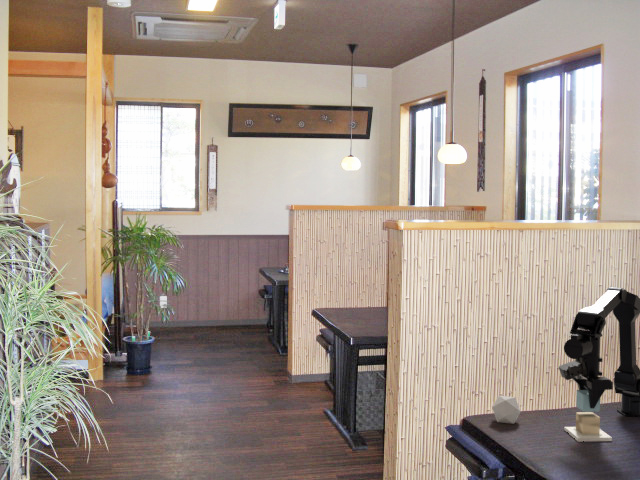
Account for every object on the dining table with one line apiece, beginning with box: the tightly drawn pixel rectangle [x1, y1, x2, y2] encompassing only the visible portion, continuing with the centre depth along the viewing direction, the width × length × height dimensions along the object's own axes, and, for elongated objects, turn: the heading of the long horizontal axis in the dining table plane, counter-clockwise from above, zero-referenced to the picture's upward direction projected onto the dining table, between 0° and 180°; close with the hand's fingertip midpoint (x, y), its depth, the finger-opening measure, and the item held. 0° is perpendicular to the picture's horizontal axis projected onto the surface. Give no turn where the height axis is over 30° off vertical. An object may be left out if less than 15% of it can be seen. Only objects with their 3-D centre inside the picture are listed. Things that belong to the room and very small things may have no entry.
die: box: [491, 395, 522, 424], centre depth 220 cm, size 8×9×10 cm
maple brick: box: [575, 411, 601, 434], centre depth 207 cm, size 5×5×5 cm
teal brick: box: [575, 389, 601, 412], centre depth 207 cm, size 5×5×5 cm
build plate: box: [563, 426, 613, 443], centre depth 207 cm, size 10×10×1 cm
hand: (588, 405), depth 207 cm, fingers closed on teal brick, 5 cm apart
